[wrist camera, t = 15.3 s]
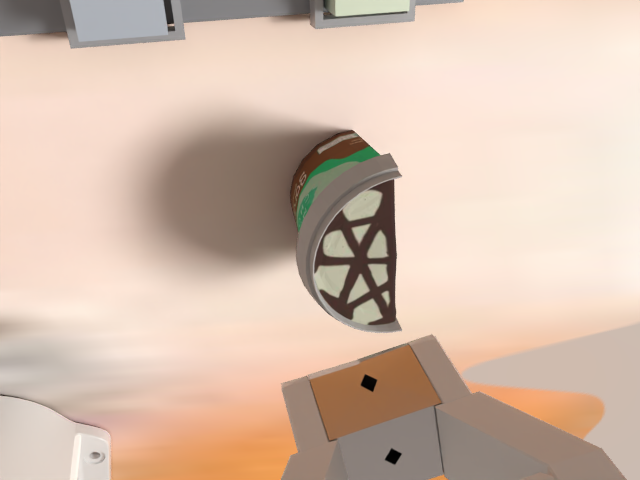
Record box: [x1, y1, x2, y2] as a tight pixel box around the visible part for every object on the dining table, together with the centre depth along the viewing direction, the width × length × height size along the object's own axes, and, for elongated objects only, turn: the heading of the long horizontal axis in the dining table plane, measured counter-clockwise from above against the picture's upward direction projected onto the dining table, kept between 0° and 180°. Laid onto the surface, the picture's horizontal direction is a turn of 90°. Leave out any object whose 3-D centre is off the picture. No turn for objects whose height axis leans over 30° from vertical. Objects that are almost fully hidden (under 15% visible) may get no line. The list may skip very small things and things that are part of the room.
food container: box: [290, 130, 402, 333], centre depth 40 cm, size 12×6×10 cm, turn 4°
